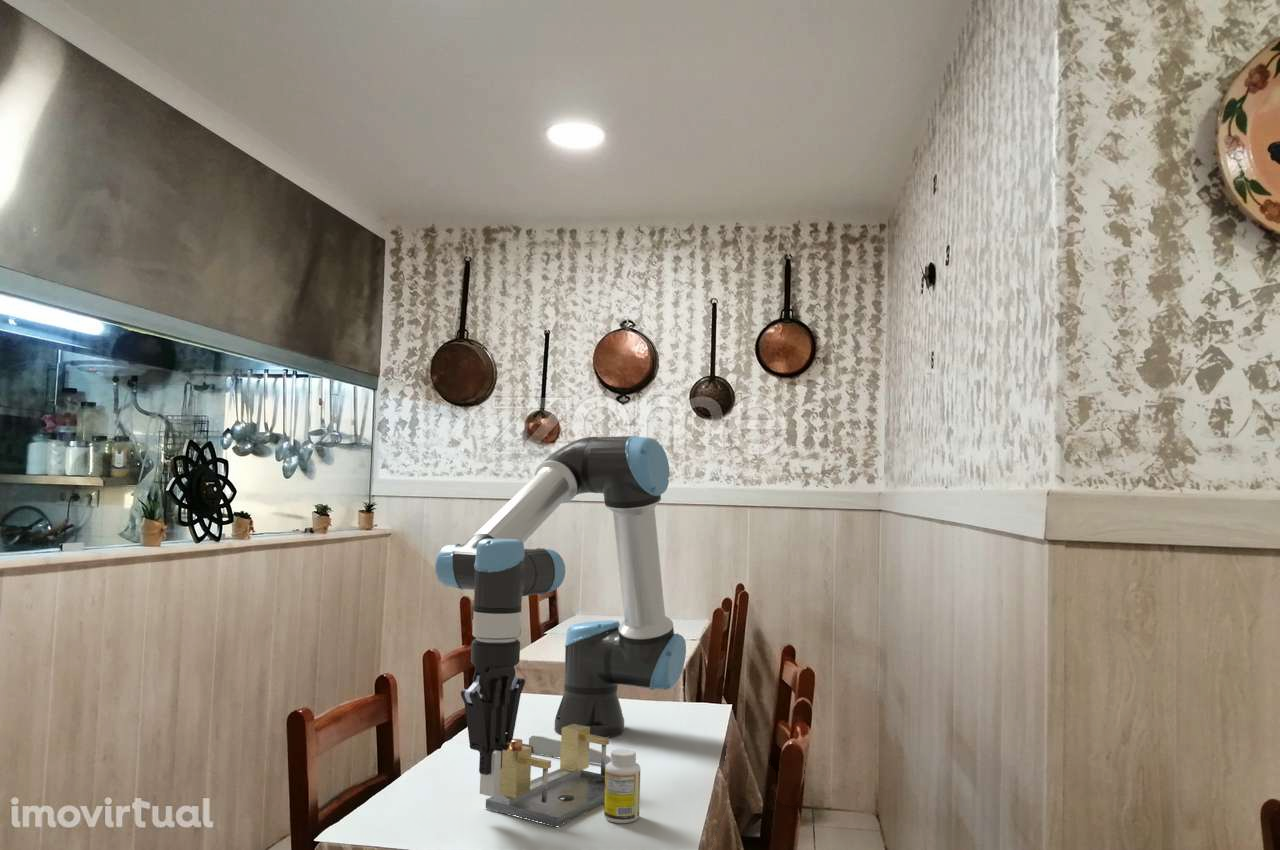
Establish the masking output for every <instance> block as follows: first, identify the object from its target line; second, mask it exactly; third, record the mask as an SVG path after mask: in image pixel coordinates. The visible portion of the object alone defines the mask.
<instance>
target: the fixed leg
mask: <svg viewBox="0 0 1280 850" xmlns="http://www.w3.org/2000/svg"><path fill="white" fill-rule="evenodd" d="M560 735H561V736H560V737H561V739H560V741H561V758H560V759H559V760H560V761H559V762H560V764H559V766H560V767H559V769H564V770H568V771H573V772H579V771H582V770H584V771H585V770H586V769H588V768H589V763H590V762H589V748H590V743H591V744H596V745H601V751H600V752H601V764H600V774H601V775H602V776H604V775H605V769H606V755H607V745H609V743H610V737H602V736H596V735H591V734H590V727H588V726H582V725H577V724H571V725H568V726H566V727H563V728H562V732H561V734H560Z"/></svg>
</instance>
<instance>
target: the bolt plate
mask: <svg viewBox="0 0 1280 850" xmlns="http://www.w3.org/2000/svg"><path fill="white" fill-rule="evenodd" d="M542 779H543V775H541V776H538V777H537V778H534V779H530V792H529V793H527V794H525V795H522V796H520V797H518V798H512V797H508V796H504V795H500V794H499V795H497V796H495V797H491V796H489V797H488V798H486V799H485V809H486V808H487V809H490V810H489V811H491V810H493V811H492V812H495V811H497V812H496V813H499V812H501V813H500V814H503V813H506V814H510V815H516V816H519V817H522V818H527V819H530V820H534V821H538V822H542V823H545V824H549V825H552V826H559V825H561V824H563V823H565V822H567V821H569V820H571V821H573V820H575V819H576V817H577V818H579V817H580V815H581V816H583V815H584V813H585V814H587V813H589V812H590V810H591V811H592V809H593V810H594V808H595V809H597V808H598V807H600V806H602V805H605V775H604V776H602V775H601V773H598V772H594V771H588V770H585V769H584V770H582V771H579V772H573V771H568V770H564V769H560V768H558V769H556V770H553V771H551V772H548V783H547V802H546V803H542ZM487 809H486V810H487ZM588 811H589V812H588ZM586 812H587V813H586ZM506 814H505V815H506ZM582 814H583V815H582ZM510 815H509V816H510ZM578 816H579V817H578ZM522 818H521V819H522ZM574 818H575V819H574ZM572 819H573V820H572ZM569 822H570V821H569ZM567 823H568V822H567ZM545 824H544V825H545ZM565 824H566V823H565ZM563 825H564V824H563ZM552 826H551V827H552ZM561 826H562V825H561ZM559 827H560V826H559Z"/></svg>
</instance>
